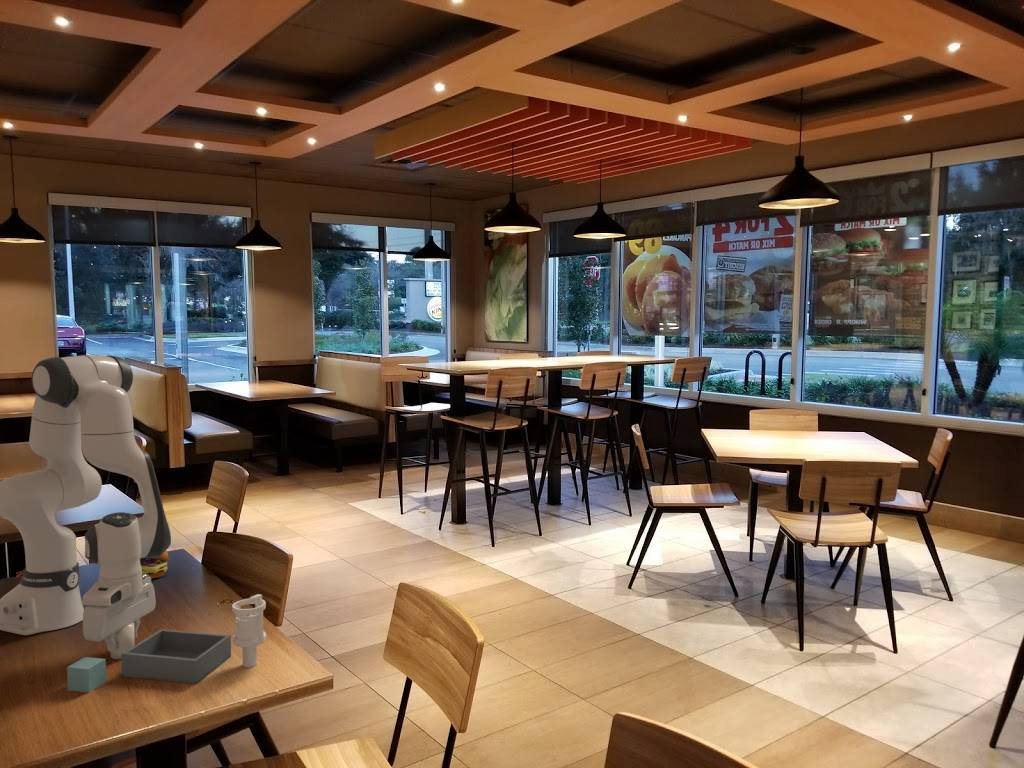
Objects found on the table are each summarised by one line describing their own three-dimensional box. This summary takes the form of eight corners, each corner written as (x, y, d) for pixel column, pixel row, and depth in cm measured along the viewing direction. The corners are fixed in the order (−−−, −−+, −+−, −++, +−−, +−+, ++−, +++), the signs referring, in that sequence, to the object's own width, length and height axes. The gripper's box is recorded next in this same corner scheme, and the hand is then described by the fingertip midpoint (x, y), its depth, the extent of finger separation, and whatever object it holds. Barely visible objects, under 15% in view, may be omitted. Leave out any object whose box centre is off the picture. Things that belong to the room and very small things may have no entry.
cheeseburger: (120, 580, 226) (125, 546, 227) (143, 578, 236) (147, 545, 238) (152, 582, 224) (156, 547, 226) (173, 579, 234) (177, 546, 236)
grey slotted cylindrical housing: (273, 661, 173) (272, 596, 172) (250, 673, 167) (249, 606, 166) (249, 655, 176) (248, 591, 175) (226, 667, 170) (225, 601, 169)
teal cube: (67, 690, 159) (67, 667, 158) (85, 679, 164) (84, 656, 163) (89, 692, 158) (88, 669, 158) (106, 681, 163) (105, 659, 162)
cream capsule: (105, 658, 174) (104, 628, 174) (120, 648, 179) (119, 619, 178) (125, 660, 173) (124, 629, 173) (139, 650, 178) (138, 621, 178)
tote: (122, 676, 165) (121, 653, 165) (161, 650, 179) (160, 629, 178) (196, 683, 162) (196, 660, 162) (231, 656, 176) (230, 635, 175)
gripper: (138, 570, 186) (139, 626, 187) (76, 599, 166) (78, 662, 167) (161, 572, 185) (163, 628, 186) (102, 602, 164) (104, 664, 166)
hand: (122, 644), depth 176 cm, fingers closed on cream capsule, 5 cm apart
